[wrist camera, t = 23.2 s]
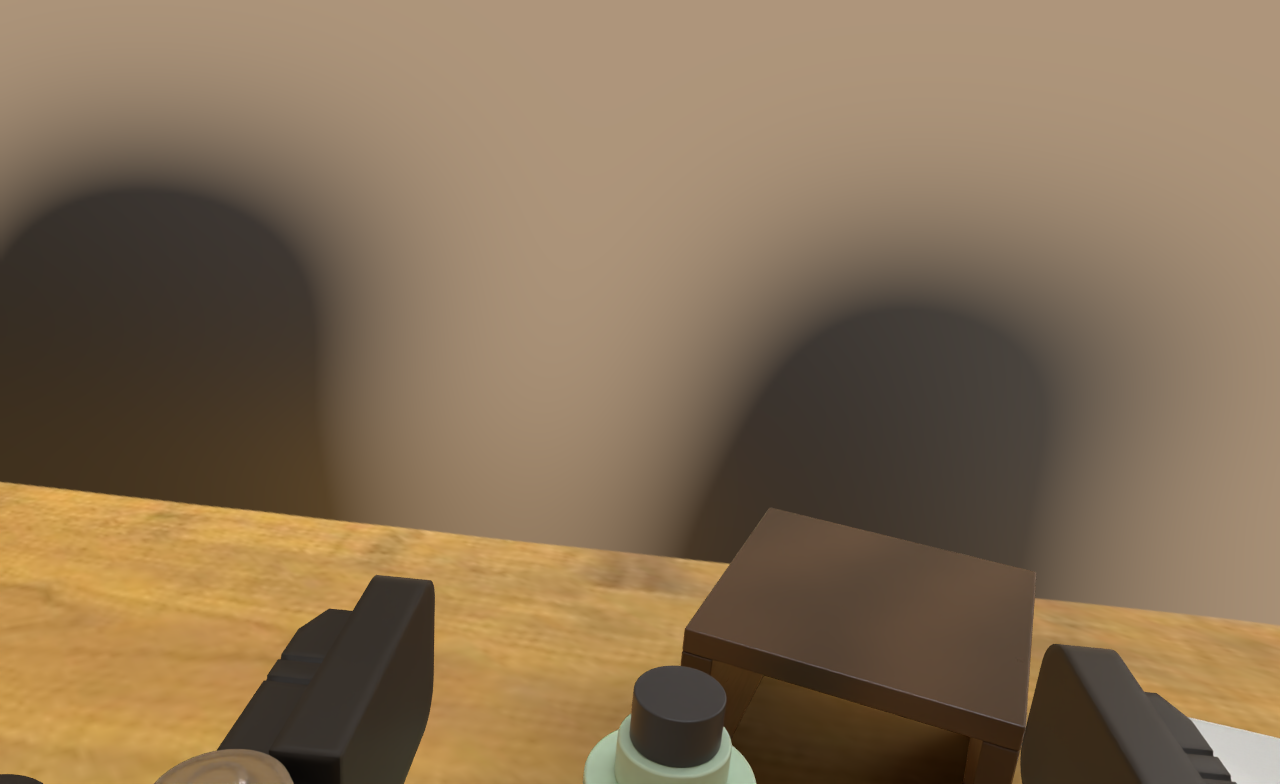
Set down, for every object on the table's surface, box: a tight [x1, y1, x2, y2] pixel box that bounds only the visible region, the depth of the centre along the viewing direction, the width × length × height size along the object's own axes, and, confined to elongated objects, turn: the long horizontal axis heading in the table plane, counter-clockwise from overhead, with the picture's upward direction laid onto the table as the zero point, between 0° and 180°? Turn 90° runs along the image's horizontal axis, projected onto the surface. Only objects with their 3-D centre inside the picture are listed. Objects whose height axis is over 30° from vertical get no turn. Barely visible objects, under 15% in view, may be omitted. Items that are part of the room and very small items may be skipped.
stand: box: [681, 508, 1036, 784], centre depth 42 cm, size 12×12×8 cm
